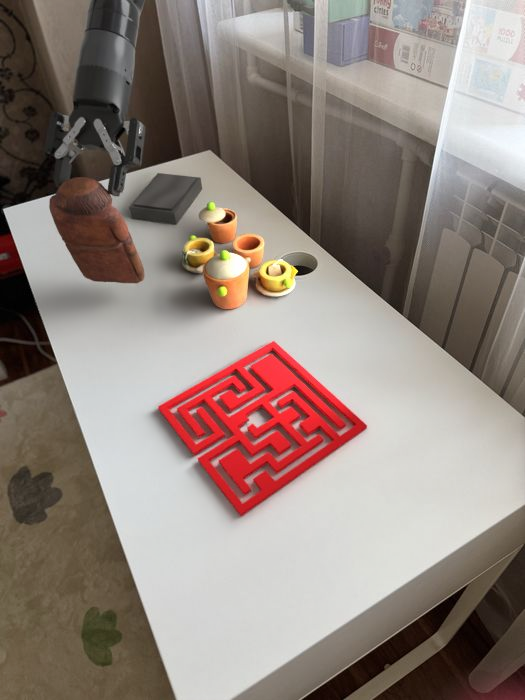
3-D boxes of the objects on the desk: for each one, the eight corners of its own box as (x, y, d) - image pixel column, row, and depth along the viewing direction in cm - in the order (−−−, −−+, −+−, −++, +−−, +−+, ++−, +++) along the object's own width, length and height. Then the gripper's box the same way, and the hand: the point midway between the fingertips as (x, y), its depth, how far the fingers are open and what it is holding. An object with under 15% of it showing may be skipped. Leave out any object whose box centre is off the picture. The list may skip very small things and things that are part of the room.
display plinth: (131, 218, 108) (127, 205, 106) (160, 184, 117) (157, 171, 115) (176, 224, 106) (174, 211, 104) (202, 189, 115) (200, 176, 113)
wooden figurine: (154, 258, 89) (121, 168, 74) (144, 288, 86) (107, 199, 71) (88, 255, 91) (43, 166, 76) (75, 283, 88) (26, 196, 73)
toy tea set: (308, 291, 90) (308, 243, 83) (226, 327, 85) (219, 279, 78) (233, 221, 106) (228, 175, 99) (161, 247, 101) (151, 202, 94)
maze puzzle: (158, 409, 74) (157, 406, 73) (274, 343, 81) (273, 340, 81) (241, 516, 62) (240, 514, 62) (366, 428, 70) (367, 425, 69)
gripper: (44, 59, 73) (26, 178, 74) (138, 65, 70) (118, 190, 71) (76, 85, 80) (59, 193, 81) (162, 91, 77) (144, 204, 78)
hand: (87, 191), depth 76 cm, fingers closed on wooden figurine, 8 cm apart
